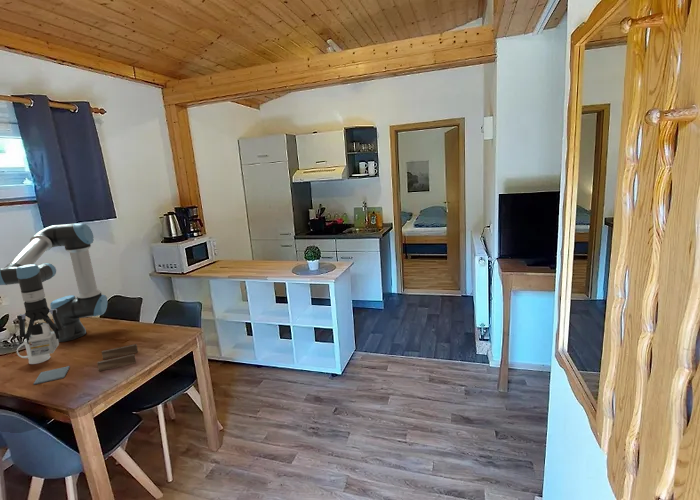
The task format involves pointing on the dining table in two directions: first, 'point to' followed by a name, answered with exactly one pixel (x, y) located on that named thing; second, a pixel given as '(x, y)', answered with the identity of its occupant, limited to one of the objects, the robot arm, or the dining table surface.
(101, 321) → the dining table surface
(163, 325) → the dining table surface
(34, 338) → the container
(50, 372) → the pad
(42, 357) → the mug
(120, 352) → the rack
